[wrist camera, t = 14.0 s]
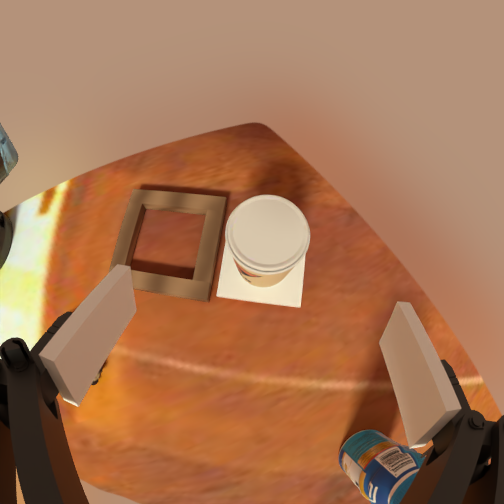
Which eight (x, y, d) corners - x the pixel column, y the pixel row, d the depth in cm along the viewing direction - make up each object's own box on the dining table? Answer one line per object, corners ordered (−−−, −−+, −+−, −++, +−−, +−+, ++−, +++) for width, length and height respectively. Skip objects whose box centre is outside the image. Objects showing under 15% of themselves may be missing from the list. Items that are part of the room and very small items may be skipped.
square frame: (112, 284, 42) (106, 281, 40) (137, 194, 47) (133, 189, 45) (209, 302, 41) (207, 300, 39) (227, 203, 46) (226, 197, 44)
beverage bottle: (394, 432, 34) (474, 467, 15) (372, 477, 32) (435, 531, 13) (350, 422, 35) (419, 466, 16) (327, 469, 33) (376, 536, 14)
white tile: (216, 296, 41) (216, 295, 41) (230, 220, 45) (229, 219, 44) (299, 307, 41) (300, 307, 40) (306, 230, 45) (307, 229, 44)
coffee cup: (222, 244, 43) (213, 207, 32) (280, 224, 44) (290, 182, 33) (244, 303, 40) (242, 285, 29) (304, 279, 42) (325, 254, 30)
